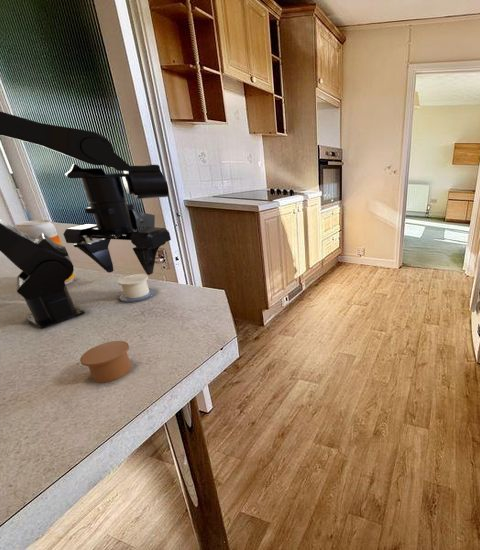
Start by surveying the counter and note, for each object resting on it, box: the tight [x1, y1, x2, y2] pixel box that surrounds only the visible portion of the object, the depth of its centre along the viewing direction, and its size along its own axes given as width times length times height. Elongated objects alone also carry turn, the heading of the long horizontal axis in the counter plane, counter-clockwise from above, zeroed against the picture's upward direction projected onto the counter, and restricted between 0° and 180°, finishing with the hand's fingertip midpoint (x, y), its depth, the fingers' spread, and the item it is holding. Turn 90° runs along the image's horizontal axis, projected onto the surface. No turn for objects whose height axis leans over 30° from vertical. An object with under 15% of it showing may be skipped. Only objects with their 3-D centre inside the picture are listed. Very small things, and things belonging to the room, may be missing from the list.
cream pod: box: [117, 273, 150, 298], centre depth 65 cm, size 5×5×4 cm
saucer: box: [119, 287, 156, 303], centre depth 66 cm, size 6×6×1 cm
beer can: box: [14, 219, 75, 285], centre depth 68 cm, size 6×6×15 cm
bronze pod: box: [79, 340, 133, 384], centre depth 43 cm, size 5×5×4 cm
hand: (130, 273), depth 64 cm, fingers open, 9 cm apart
